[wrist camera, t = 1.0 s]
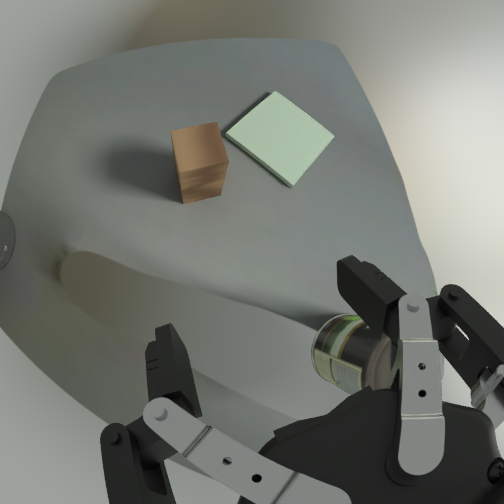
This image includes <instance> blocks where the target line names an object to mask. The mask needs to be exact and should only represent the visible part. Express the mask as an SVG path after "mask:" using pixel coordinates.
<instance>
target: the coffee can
mask: <svg viewBox="0 0 504 504" xmlns="http://www.w3.org/2000/svg"><path fill="white" fill-rule="evenodd" d="M390 341H391V339H390V338H389V337H386V338H384V339H382V340H381V341H380V340H379V338H378V337H377V336H376V335H375V334H374V333H373V332H372V330H371V329H370V328H369V327H368V326H367V325H366V323H365V322H364V321H363V320H362V319H361V318H360V317H359V315H353V314H341V315H337V316H335V317H333V318H331V319H329V320H328V321H327V322H325V323H324V324H323V325H322V327H321V328H320V329H319V331H318V332H317V334H316V336H315V338H314V341H313V344H312V349H311V358H312V363H313V366H314V368H315V370H316V372H317V373H318V375H319V376H321V377H322V378H323V379H325V380H326V381H329V382H331V383H332V384H334V385H335V386H337V387H339V388H341V389H342V390H344V391H345V392H347V393H349V394H350V395H353V394H354V393H356V392H358V391H360V390H362V389H363V388H365V387H367V386H369V385H370V387H371V388H372V389H373V390H376V389H384V388H387V382H388V377H389V359H390Z"/></svg>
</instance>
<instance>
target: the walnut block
mask: <svg viewBox="0 0 504 504" xmlns="http://www.w3.org/2000/svg"><path fill="white" fill-rule="evenodd" d="M170 132H171V139H172V147H173V154H174V161H175V168H176V173H177V178H178V182H179V187H180V191H181V195H182V200H183V204H186V203H190V202H194V201H198V200H202V199H207V198H211V197H215V196H219V195H221V191H222V187H223V183H224V179H225V175H226V171H227V167H228V163H229V161H228V157H227V154H226V150H225V147H224V144H223V140H222V137H221V134H220V130H219V127H218V123H217V122H214V123H208V124H203V125H198V126H193V127H188V128H183V129H178V130H174V131H170Z"/></svg>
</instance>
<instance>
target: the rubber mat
mask: <svg viewBox="0 0 504 504" xmlns="http://www.w3.org/2000/svg"><path fill="white" fill-rule="evenodd" d="M226 137H227V138H228V139H230V140H231V141H232V142H234V143H235V144H236V145H238V146H239V147H240V148H242V149H243V150H244V151H245V152H247V153H248V154H249V155H251V156H252V157H253V158H254V159H256V160H257V161H258V162H259V163H261V164H262V165H263V166H265V167H266V168H267V169H268V170H269V171H271V172H272V173H273V174H274V175H276V176H277V177H278V178H279V179H281V180H282V181H283V182H284V183H285V184H287V185H288V186H289V187H290V188H291V187H292V186H293V185H294V184H295V183H296V182H297V180H298V179H299V178H300V177H301V176H302V174H303V173H304V172H305V171H306V170H307V169H308V167H309V166H310V165H311V164H312V163H313V161H314V160H315V159H316V158H317V157H318V155H319V154H320V153H321V152H322V151H323V150H324V148H325V147H326V146H327V145H328V144H329V142H330V141H331V140H332V139H333V138H334V137H335V136H334V135H332V134H331V133H330V132H329V131H328V130H326V129H325V128H324V127H323V126H321V125H320V124H319V123H318V122H316V121H315V120H314V119H313V118H311V117H310V116H309V115H308V114H306V113H305V112H304V111H302V110H301V109H300V108H298V107H297V106H296V105H294V104H293V103H292V102H290V101H289V100H288V99H286V98H285V97H283V96H282V95H281V94H279V93H278V92H276V91H274V92H273V93H272V94H271V95H269V96H268V97H267V98H266V99H265V100H263V101H262V102H261V103H260V104H259V105H257V106H256V107H255V108H254V109H253V110H251V111H250V112H249V113H248V114H247V115H246V116H244V117H243V118H242V119H241V120H240V121H239V122H238V123H236V124H235V125H234V126H233V127H232V128H231V129H230V130H229V131H227V132H226Z"/></svg>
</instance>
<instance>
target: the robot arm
mask: <svg viewBox="0 0 504 504" xmlns="http://www.w3.org/2000/svg"><path fill="white" fill-rule="evenodd" d="M14 240H15V233H14V226H13V223H12V221H11V219H10V218H9V216H8V215H6V214H5V213H3V212H1V211H0V270H1V269H2V268H3V267H4V266H5V265H6V264H7V262H8V261H9V259H10V257H11V254H12V251H13V247H14ZM337 286H338V290H339V293H340V295H341V296H342V297H343V299H344V300H345V301H346V302H347V303H348V304H349V305H350V306H351V308H352V309H353V310H354V311H355V312H356V313H357V314H358V315H359V317H360V318H361V319H362V320H363V321H364V322H365V323H366V325H367V326H368V327H369V328H370V329H371V330H372V332H373V333H374V334H375V335H376V336H377V337H378V338H379V340H380V341H381V340H382V339H384V338H386V337H389V338H390V339H391V341H390V359H389V377H388V382H387V388H384V389H376V390H373V389H372V388H371V387H370V385H369V386H367V387H365V388H363V389H362V390H360V391H358V392H356V393H354V394H353V395H351V396H349V397H347V398H346V399H345V400H344V401H343V402H341V403H340V404H339V405H338V406H337V407H336V408H335V409H333V410H332V411H331V412H330V413H328V414H326V415H324V416H319V417H315V418H309V419H305V420H299V421H296V422H294V423H292V424H289V425H287V426H284V427H282V428H279V429H277V430H274V431H273V432H274V434H275V437H274V438H272V439H271V440H270V441H268V442H267V443H266V444H265V445H264V446H263V447H262V448H261V450H260V451H259V452H258V453H256V452H254V451H252V450H250V449H249V448H247V447H245V446H243V445H241V444H240V443H238V442H236V441H235V440H233V439H231V438H229V437H228V436H226V435H224V434H223V433H221V432H220V431H218V430H216V429H215V428H213V427H211V426H207V425H205V424H204V423H202V422H201V421H199V420H198V419H196V418H198V417H201V416H202V412H201V408H200V404H199V400H198V396H197V392H196V388H195V383H194V379H193V374H192V370H191V365H190V361H189V357H188V353H187V350H186V348H185V345H184V344H183V342H182V340H181V339H180V337H179V335H178V333H177V332H176V330H175V328H174V326H173V325H172V324H171V323H170V324H167V325H164V326H161V327H158V328H156V329H155V335H156V341H152V342H150V343H149V344H148V346H147V349H146V352H145V359H146V370H147V372H146V374H147V386H148V397H149V403H148V404H147V405H146V407H145V409H144V411H143V415H142V416H141V417H140V418H138V419H137V420H135V421H134V422H132V423H130V424H128V425H127V426H124V425H122V424H120V423H112V424H110V425H108V426H107V427H105V428H104V430H103V431H102V433H101V437H100V443H101V453H102V461H103V469H104V476H105V481H106V488H107V493H108V498H109V503H110V504H176V501H175V498H174V495H173V492H172V489H171V485H170V482H169V479H168V475H167V472H166V468H165V465H164V460H165V459H167V458H169V457H171V456H172V455H174V454H176V453H177V452H180V453H181V454H182V455H183V456H184V457H185V458H186V459H188V460H189V461H190V462H192V463H193V464H194V465H196V466H197V467H199V468H200V469H201V470H203V471H204V472H206V473H207V474H209V475H210V476H211V477H213V478H214V479H216V480H217V481H219V482H221V483H222V484H224V485H225V486H227V487H229V488H230V489H232V490H233V491H235V492H237V493H238V494H240V495H241V496H240V498H239V501H238V503H237V504H504V460H503V458H502V457H501V455H500V453H499V450H498V446H497V442H496V436H495V429H496V428H497V427H498V426H499V425H500V424H501V423H502V422H503V421H504V328H503V327H502V326H501V325H500V324H499V323H498V322H497V321H496V320H495V319H494V318H493V317H492V316H491V315H490V314H489V313H488V312H487V311H486V310H485V309H484V308H483V307H482V306H481V305H480V304H479V303H478V302H477V301H476V300H475V299H473V298H472V297H471V296H470V295H469V294H468V293H467V292H466V291H465V290H464V289H462V288H461V287H460V286H457V285H453V284H449V285H445V286H444V287H443V288H442V289H441V292H440V295H439V296H435V297H431V298H427V299H425V298H424V297H422V296H420V295H418V294H407V293H406V292H405V291H403V290H402V289H401V288H400V287H399V286H398V285H397V284H396V283H394V282H393V281H392V280H391V279H390V278H389V277H387V276H386V275H385V274H384V273H383V272H381V270H379V269H378V268H377V267H376V266H375V265H373V264H371V263H368V262H366V261H363V262H360V261H359V260H358V259H357V258H356V257H355V256H353V255H350V256H348V257H345V258H343V259H341V260H338V261H337ZM456 325H458V326H459V327H460V328H461V330H462V331H463V332H464V333H465V334H466V335H467V336H468V338H469V340H468V339H467V338H466V337H465V336H464V335H463V334H462V333H461V332H460V331H459V329H458V328H457V327H456ZM439 351H440V352H441V353H442V354H443V355H444V357H445V358H446V359H447V360H448V361H449V363H450V364H451V365H452V366H453V368H454V369H455V370H456V371H457V373H458V374H459V375H460V376H461V377H462V379H463V380H464V381H465V383H466V384H467V385H468V387H469V388H470V389H471V399H472V401H471V405H472V406H473V407H474V408H471V407H466V406H461V405H457V404H452V403H448V402H444V401H442V385H441V368H440V356H439Z"/></svg>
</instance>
